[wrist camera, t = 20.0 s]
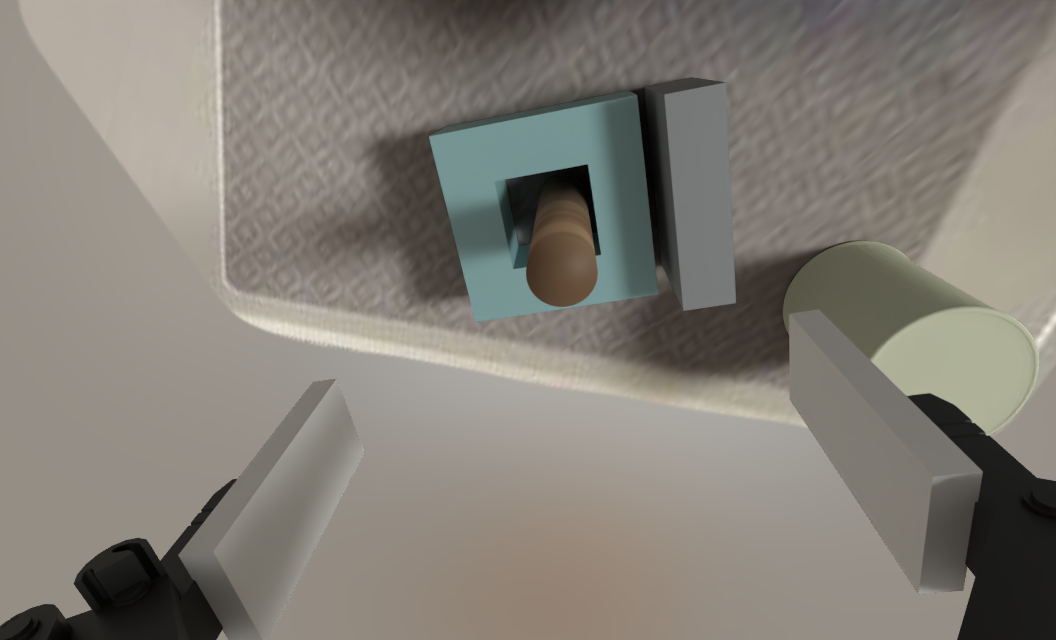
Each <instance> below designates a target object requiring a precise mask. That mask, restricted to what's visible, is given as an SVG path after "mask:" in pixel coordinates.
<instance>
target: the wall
mask: <svg viewBox="0 0 1056 640" xmlns="http://www.w3.org/2000/svg"><path fill="white" fill-rule="evenodd" d="M644 91H645V101H646V111H647V121H648V131H649V141H650V150H651V160H652V170H653V180H654V190H655V200H656V210H657V220H658V230H659V240H660V249H661V259H662V267H663V269H664V271H665V273H666V275H667V277H668V279H669V281H670V284H671V286H672V288H673V290H674V292H675V294H676V296H677V298H678V301H679V303H680V305H681V307H682V309H683V311H686V310H693V309H700V308H707V307H713V306H720V305H727V304H734V303H736V291H735V270H734V248H733V227H732V205H731V184H730V162H729V141H728V119H727V98H726V82H720V81H713V80H706V79H700V78H688V79H683V80H678V81H673V82H668V83H663V84H658V85H653V86H648V87H644Z"/></svg>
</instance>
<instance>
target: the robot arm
mask: <svg viewBox="0 0 1056 640" xmlns="http://www.w3.org/2000/svg"><path fill="white" fill-rule="evenodd" d="M789 360H790V400H791V402H792V403H793V405H794V406H795V408H796V409H797V411H798V412H799V414H800V415H801V417H802V418H803V420H804V422H805V423H806V425H807V426H808V428H809V429H810V431H811V432H812V434H813V435H814V437H815V438H816V440H817V441H818V443H819V444H820V446H821V447H822V448H823V450H824V452H825V453H826V455H827V456H828V458H829V459H830V461H831V462H832V464H833V465H834V467H835V468H836V470H837V471H838V473H839V475H840V476H841V477H842V479H843V481H844V482H845V483H846V485H847V487H848V488H849V490H850V491H851V492H852V494H853V496H854V497H855V499H856V500H857V502H858V503H859V505H860V506H861V508H862V509H863V511H864V512H865V514H866V515H867V517H868V518H869V520H870V521H871V523H872V524H873V526H874V528H875V529H876V531H877V532H878V534H879V535H880V537H881V538H882V540H883V541H884V543H885V544H886V546H887V547H888V549H889V550H890V552H891V553H892V555H893V556H894V558H895V559H896V561H897V562H898V563H899V565H900V567H901V568H902V570H903V571H904V573H905V574H906V576H907V577H908V579H909V581H910V582H911V583H912V585H913V587H914V588H915V590H916V591H917V593H918V594H926V593H938V592H951V591H963V589H964V582H965V577H966V571H967V567H968V568H969V569H970V571H971V572H972V573H973V574H974V576H975V581H974V584H973V588H972V591H971V594H970V598H969V601H968V605H967V608H966V611H965V615H964V618H963V622H962V625H961V629H960V632H959V636H958V639H957V640H1056V481H1052V480H1046V479H1040V478H1036V477H1035V476H1034V475H1033V474H1032V473H1031V472H1030V471H1029V470H1027V469H1026V468H1025V467H1024V466H1023V465H1022V464H1021V463H1019V462H1018V461H1017V460H1016V459H1015V458H1014V457H1013V456H1011V455H1010V454H1009V453H1008V452H1007V451H1006V450H1005V449H1004V448H1003V447H1001V446H1000V445H999V444H998V443H997V442H996V441H995V440H994V439H992V438H991V437H990V436H986V433H985V431H983V430H982V429H981V428H980V427H979V426H978V425H977V424H976V423H972V420H971V419H970V418H969V417H968V416H967V415H965V414H964V413H963V412H962V411H961V410H960V409H959V408H958V407H956V406H955V405H954V404H952V403H950V402H948V401H945V400H943V399H941V398H939V397H937V396H935V395H933V394H931V393H926V394H918V395H910V396H906V395H905V394H904V393H903V392H902V391H901V390H900V389H899V388H898V387H897V386H896V385H895V384H894V383H893V382H892V381H891V380H890V379H889V378H888V377H887V376H886V375H885V374H884V373H883V372H882V371H881V370H880V369H879V368H878V367H877V366H876V365H875V364H873V363H872V362H871V361H870V360H869V359H868V358H867V357H866V356H865V355H864V354H863V353H862V352H861V351H860V350H859V349H858V348H857V347H856V346H855V345H854V344H853V343H852V342H851V341H850V340H849V339H848V338H847V337H846V336H845V335H844V334H843V333H842V332H841V331H840V330H839V329H838V328H837V327H836V326H835V325H834V324H833V323H832V322H831V321H830V320H829V319H828V318H827V317H826V316H825V315H824V314H823V313H822V312H821V311H820V310H812V311H805V312H798V313H791V314H789ZM363 454H364V450H363V447H362V444H361V442H360V439H359V436H358V434H357V431H356V428H355V426H354V423H353V421H352V418H351V416H350V413H349V410H348V407H347V405H346V402H345V399H344V397H343V394H342V391H341V389H340V386H339V383H338V381H337V379H330V380H324V381H317V382H313V383H312V384H311V385H310V387H309V388H308V389H307V390H306V392H305V393H304V394H303V396H302V397H301V398H300V399H299V401H298V402H297V403H296V405H295V406H294V407H293V408H292V410H291V411H290V412H289V414H288V415H287V416H286V417H285V419H284V420H283V421H282V423H281V424H280V425H279V426H278V428H277V429H276V430H275V432H274V433H273V434H272V435H271V437H270V438H269V439H268V441H267V442H266V443H265V444H264V446H263V447H262V448H261V449H260V451H259V452H258V453H257V455H256V456H255V457H254V458H253V460H252V461H251V462H250V464H249V465H248V466H247V468H246V469H245V470H244V471H243V473H242V474H241V475H240V476H239V478H238V479H233V480H231V481H230V482H229V483H227V484H226V485H225V486H224V487H222V488H221V489H220V490H219V491H218V492H216V493H215V494H214V495H213V496H212V497H211V499H210V500H209V501H208V502H207V504H206V505H205V506H204V508H203V509H202V510H201V511H202V512H201V513H199V514H198V515H197V516H196V517H195V518H194V520H193V521H192V522H191V526H188V527H187V528H186V530H185V531H184V532H183V534H182V535H181V536H180V537H179V538H178V540H177V541H176V542H175V543H174V545H173V546H172V547H171V548H170V550H169V551H168V552H167V553H166V555H165V556H164V557H163V558H162V559H161V561H160V560H159V559H158V557H157V555H156V554H155V552H154V550H153V549H152V547H151V546H150V544H149V543H148V541H147V540H146V539H141V538H135V539H130V540H125V541H123V542H121V543H118V544H116V545H113V546H111V547H110V548H108V549H106V550H105V551H103V552H101V553H100V554H98V555H97V556H95V557H94V558H93V559H92V560H91V561H90V562H88V563H87V564H86V565H85V566H84V567H83V568H82V570H81V571H80V572H79V573H78V575H77V577H76V579H75V582H74V585H75V586H76V588H77V589H78V590H79V592H80V593H81V595H82V596H83V598H84V599H85V600H86V602H87V603H88V605H89V606H90V607H91V609H92V610H90V611H87V612H84V613H81V614H79V615H76V616H73V617H70V618H67V619H65V617H64V616H63V615H62V613H61V612H60V611H59V609H58V608H57V607H56V606H55V605H53V604H44V605H40V606H37V607H33V608H31V609H29V610H26V611H25V612H22V613H20V614H18V615H16V616H14V617H12V618H11V619H10V620H8V621H6V622H5V623H4V624H2V625H1V626H0V640H216V639H217V638H218V635H219V634H220V632H221V631H222V630H223V631H224V633H225V635H226V636H227V638H228V640H269V638H270V637H271V634H272V633H273V631H274V629H275V626H276V625H277V623H278V621H279V619H280V617H281V615H282V613H283V611H284V609H285V607H286V605H287V603H288V601H289V599H290V597H291V595H292V593H293V591H294V589H295V587H296V585H297V583H298V582H299V579H300V578H301V576H302V574H303V572H304V570H305V568H306V566H307V564H308V562H309V560H310V558H311V556H312V554H313V552H314V550H315V548H316V546H317V544H318V542H319V540H320V538H321V536H322V534H323V532H324V530H325V528H326V526H327V525H328V523H329V520H330V519H331V517H332V515H333V513H334V511H335V509H336V507H337V505H338V503H339V501H340V499H341V497H342V495H343V493H344V491H345V489H346V487H347V485H348V483H349V481H350V479H351V477H352V475H353V473H354V471H355V470H356V468H357V465H358V464H359V462H360V460H361V458H362V456H363Z"/></svg>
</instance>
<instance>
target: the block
mask: <svg viewBox="0 0 1056 640" xmlns="http://www.w3.org/2000/svg"><path fill="white" fill-rule="evenodd" d="M429 139H430V143H431V147H432V151H433V155H434V159H435V163H436V167H437V171H438V175H439V179H440V183H441V187H442V191H443V195H444V199H445V203H446V207H447V211H448V215H449V219H450V223H451V227H452V231H453V235H454V239H455V243H456V247H457V251H458V254H459V258H460V262H461V266H462V270H463V274H464V278H465V282H466V286H467V290H468V294H469V298H470V302H471V306H472V310H473V314H474V318H475V322H479V321H486V320H493V319H499V318H506V317H512V316H519V315H525V314H532V313H539V312H545V311H552V310H558V309H565V308H571V307H578V306H585V305H591V304H598V303H604V302H611V301H617V300H624V299H631V298H637V297H644V296H650V295H657V294H658V286H657V277H656V267H655V258H654V249H653V239H652V230H651V220H650V211H649V201H648V192H647V183H646V173H645V164H644V154H643V145H642V135H641V126H640V117H639V107H638V98H637V95H636V94H634V93H632V92H630V91H623V92H618V93H613V94H608V95H603V96H598V97H593V98H588V99H583V100H578V101H573V102H568V103H563V104H558V105H553V106H548V107H543V108H538V109H533V110H528V111H523V112H518V113H513V114H508V115H503V116H498V117H493V118H488V119H483V120H478V121H473V122H468V123H463V124H458V125H453V126H448V127H444V128H443V129H441V130H439V131H437V132H436V133H434V134H432V135H430V136H429ZM586 164H587V167H588V174H589V181H590V188H591V194H592V201H593V208H594V215H595V222H596V229H597V233H592V237H593V243H594V249H595V256H596V262H597V269H598V277H597V282H596V285H595V287H594V289H593V291H592V292H591V294H590V295H589V296H588V297H587V298H585V299H584V300H583V301H581V302H580V303H578V304H575V305H572V306H568V307H556V306H551V305H548V304H546V303H544V302H542V301H541V300H539V299H538V298H537V297H536V296H535V295H534V294H533V293H532V291H531V290H530V288H529V286H528V283H527V279H526V268H527V262H528V256H529V251H530V245H531V244H527V245H521V246H519V244H518V239H517V234H516V230H515V225H514V220H513V215H512V210H511V205H510V200H509V196H508V191H507V186H506V181H505V179H511V178H516V177H521V176H527V175H532V174H538V173H543V172H548V171H554V170H559V169H565V168H570V167H575V166H581V165H586Z"/></svg>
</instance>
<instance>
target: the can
mask: <svg viewBox="0 0 1056 640" xmlns="http://www.w3.org/2000/svg"><path fill="white" fill-rule="evenodd" d="M812 310H820V311H821V312H822V313H823V314H824V315H825V316H826V317H827V318H828V319H829V320H830V321H831V322H832V323H833V324H834V325H835V326H836V327H837V328H838V329H839V330H840V331H841V332H842V333H843V334H844V335H845V336H846V337H847V338H848V339H849V340H850V341H851V342H852V343H853V344H854V345H855V346H856V347H857V348H858V349H859V350H860V351H861V352H862V353H863V354H864V355H865V356H866V357H867V358H868V359H869V360H870V361H871V362H872V363H873V364H875V365H876V366H877V367H878V368H879V369H880V370H881V371H882V372H883V373H884V374H885V375H886V376H887V377H888V378H889V379H890V380H891V381H892V382H893V383H894V384H895V385H896V386H897V387H898V388H899V389H900V390H901V391H902V392H903V393H904V394H905V395H906V396H910V395H918V394H926V393H931V394H933V395H935V396H937V397H939V398H941V399H943V400H945V401H948V402H950V403H952V404H954V405H955V406H956V407H958V408H959V409H960V410H961V411H962V412H963V413H964V414H965V415H967V416H968V417H969V418H970V419H971V420H972V423H976V424H977V425H978V426H979V427H980V428H981V429H982V430H983V431H985V433H986V436H989V435H990V434H992V433H993V432H995V431H996V430H998V429H999V428H1001V427H1002V426H1003V425H1004V424H1006V423H1007V422H1008V421H1009V420H1010V419H1011V418H1012V417H1013V416H1014V415H1015V414H1016V413H1017V412H1018V411H1019V410H1020V409H1021V407H1022V406H1023V405H1024V403H1025V402H1026V400H1027V399H1028V397H1029V396H1030V394H1031V392H1032V390H1033V387H1034V385H1035V383H1036V379H1037V375H1038V369H1039V356H1038V350H1037V346H1036V344H1035V341H1034V339H1033V337H1032V336H1031V334H1030V333H1029V331H1028V330H1027V329H1026V328H1025V327H1024V326H1023V325H1022V324H1021V323H1020V322H1019V321H1018V320H1016V319H1015V318H1013V317H1012V316H1010V315H1008V314H1006V313H1003V312H1001V311H998V310H996V309H994V308H992V307H990V306H988V305H987V304H985V303H983V302H981V301H979V300H977V299H976V298H974V297H972V296H971V295H969V294H967V293H965V292H964V291H962V290H960V289H958V288H957V287H955V286H953V285H951V284H950V283H948V282H946V281H944V280H943V279H941V278H939V277H937V276H936V275H934V274H932V273H931V272H929V271H927V270H926V269H924V268H922V267H921V266H919V265H917V264H916V263H914V262H912V261H911V260H909V259H908V258H907V257H906V256H905V255H904V254H903V253H902V252H900V251H899V250H897V249H895V248H894V247H892V246H889V245H886V244H884V243H880V242H875V241H853V242H848V243H843V244H840V245H837V246H834V247H832V248H829V249H827V250H825V251H823V252H822V253H820V254H818V255H817V256H815V257H814V258H812V259H811V260H810V261H809V262H807V263H806V264H805V265H804V266H803V267H802V268H801V269H800V271H799V272H798V273H797V274H796V276H795V277H794V279H793V280H792V282H791V284H790V285H789V287H788V289H787V292H786V295H785V298H784V304H783V320H784V324H785V327H786V330H787V332H788V334H789V314H791V313H798V312H805V311H812Z"/></svg>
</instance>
